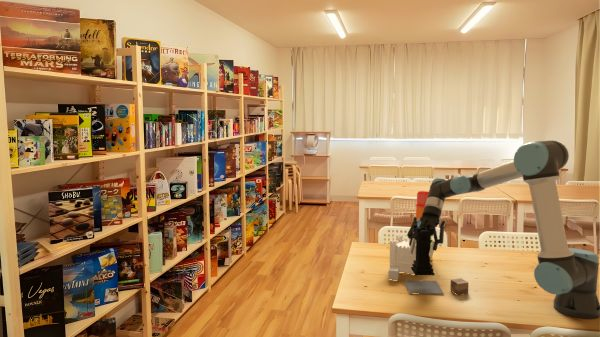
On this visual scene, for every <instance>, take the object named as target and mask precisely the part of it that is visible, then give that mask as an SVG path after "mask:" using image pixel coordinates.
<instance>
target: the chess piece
mask: <svg viewBox="0 0 600 337" xmlns="http://www.w3.org/2000/svg"><path fill="white" fill-rule="evenodd" d="M412 224H413V223H412ZM413 228H414V232H415V233H416V237H415V240H416V260H413V262H414V264H412V266H413V267H411V269H412V271H413V272H414V274H415V275H419V276H435V275H436V274H435V272H434V268H433V265H432V262H431V261H430V256H429V252H430V243H431V244H432V241H433V240H432V237H434V235H433V231H435V229H434V228H431V225H430V224H426V227H418V225H417V224H413Z"/></svg>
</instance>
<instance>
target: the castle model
mask: <svg viewBox="0 0 600 337" xmlns="http://www.w3.org/2000/svg"><path fill="white" fill-rule="evenodd" d="M409 242H410V239H404V235H403V234H400V233H397V234H396V236H395V239H392V238H391V239H390V240H389V267H390V266H397V267H399V272H404V273H409V274H414V272H413V271H412V269H411V267H413V266H412V264H414V262H413V260H416V243H415V247H414V250H413V254H412V255H410V253H409V250H410V246H409Z"/></svg>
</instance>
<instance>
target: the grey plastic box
mask: <svg viewBox="0 0 600 337" xmlns="http://www.w3.org/2000/svg"><path fill="white" fill-rule="evenodd" d="M398 278H399V279H400V273H399V267H397V266H390V265H389V268H388V280H389V279H392V280H398V281H399V279H398Z"/></svg>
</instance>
